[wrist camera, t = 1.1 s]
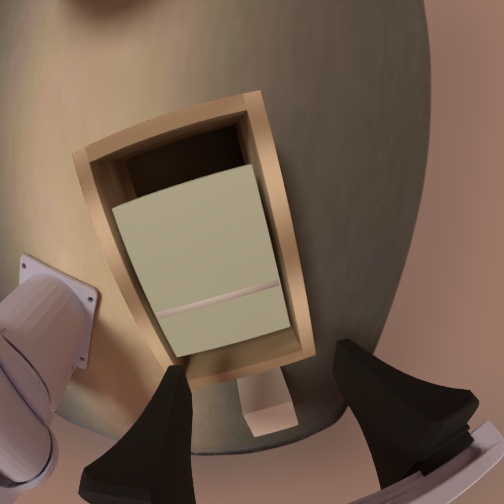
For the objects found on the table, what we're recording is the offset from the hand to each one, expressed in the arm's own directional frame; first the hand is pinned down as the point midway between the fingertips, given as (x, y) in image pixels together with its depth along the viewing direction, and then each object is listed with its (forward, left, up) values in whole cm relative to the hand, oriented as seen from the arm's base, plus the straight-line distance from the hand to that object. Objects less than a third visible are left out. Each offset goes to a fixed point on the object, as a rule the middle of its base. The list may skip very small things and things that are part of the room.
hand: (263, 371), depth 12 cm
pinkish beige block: (-9, -6, -10) cm, 15 cm away
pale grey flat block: (+1, +3, -4) cm, 5 cm away
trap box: (+2, +4, -10) cm, 11 cm away
